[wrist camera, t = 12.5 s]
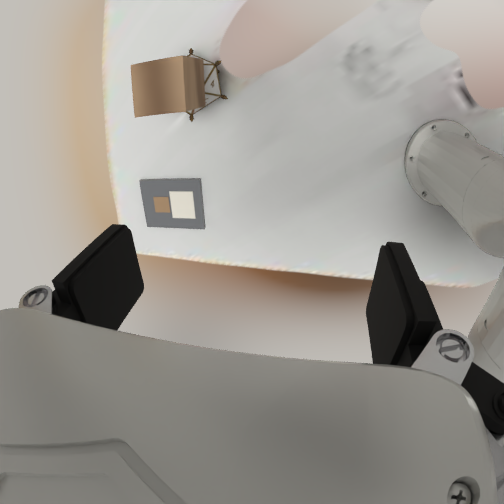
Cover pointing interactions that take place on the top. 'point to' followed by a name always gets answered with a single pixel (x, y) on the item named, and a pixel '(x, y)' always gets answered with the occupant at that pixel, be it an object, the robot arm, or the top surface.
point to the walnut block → (168, 85)
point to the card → (173, 203)
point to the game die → (208, 83)
